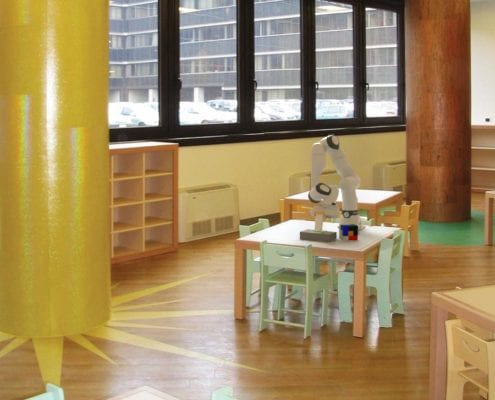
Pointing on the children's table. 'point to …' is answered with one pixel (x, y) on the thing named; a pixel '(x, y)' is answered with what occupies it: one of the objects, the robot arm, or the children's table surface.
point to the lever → (319, 220)
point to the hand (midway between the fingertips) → (321, 221)
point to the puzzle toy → (348, 232)
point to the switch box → (318, 235)
